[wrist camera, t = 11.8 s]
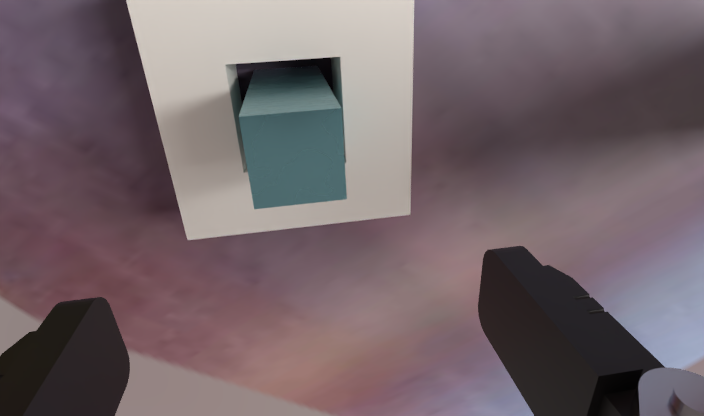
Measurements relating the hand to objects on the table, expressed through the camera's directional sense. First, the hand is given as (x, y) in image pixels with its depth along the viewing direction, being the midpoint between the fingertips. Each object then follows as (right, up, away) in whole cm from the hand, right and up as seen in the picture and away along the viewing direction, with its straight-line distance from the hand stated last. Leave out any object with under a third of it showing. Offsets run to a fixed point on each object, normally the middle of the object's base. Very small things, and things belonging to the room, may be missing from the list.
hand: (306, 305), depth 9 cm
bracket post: (-3, +9, +19) cm, 21 cm away
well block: (-3, +9, +19) cm, 21 cm away
